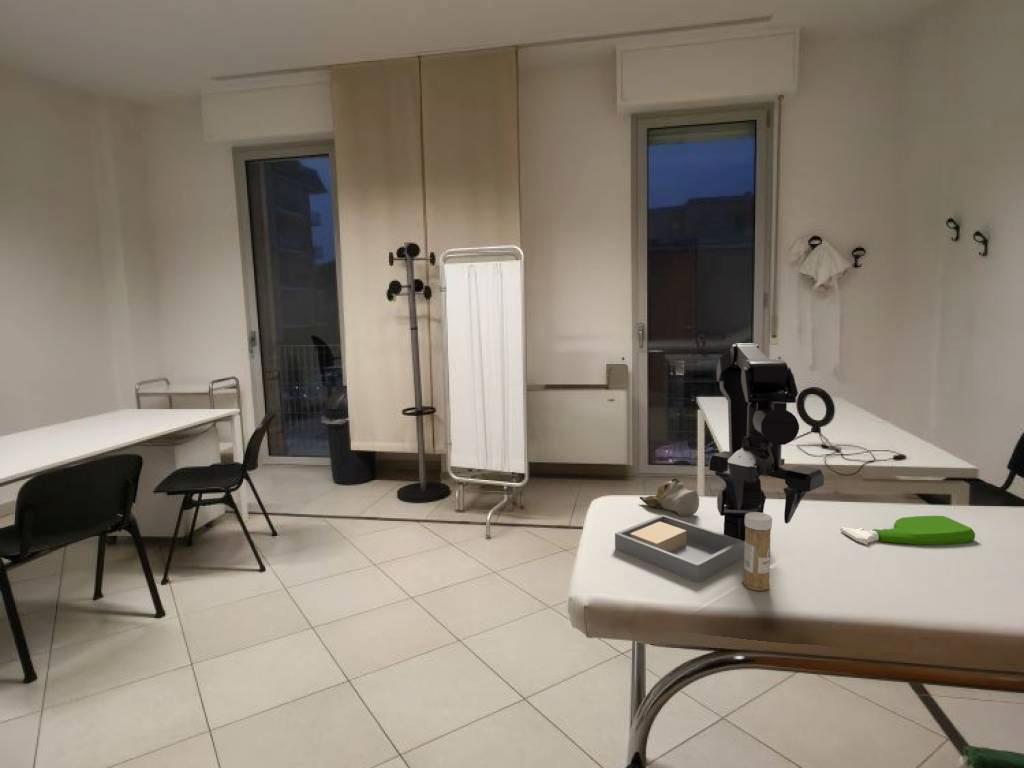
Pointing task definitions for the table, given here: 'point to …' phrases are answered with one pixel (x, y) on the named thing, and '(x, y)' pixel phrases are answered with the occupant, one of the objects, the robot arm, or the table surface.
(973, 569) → the table surface
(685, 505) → the ceramic sculpture
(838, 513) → the table surface
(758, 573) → the sprinkles bottle
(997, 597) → the table surface
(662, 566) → the tote
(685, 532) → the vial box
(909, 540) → the spray bottle
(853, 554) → the table surface
